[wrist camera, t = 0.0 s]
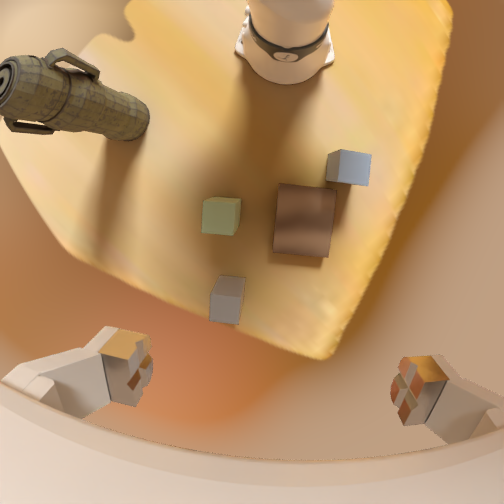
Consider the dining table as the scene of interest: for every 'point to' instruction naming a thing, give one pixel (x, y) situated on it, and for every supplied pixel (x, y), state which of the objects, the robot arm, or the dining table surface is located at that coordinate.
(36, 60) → the thermos
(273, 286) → the dining table surface
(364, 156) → the blue block
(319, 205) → the walnut brick
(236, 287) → the grey block
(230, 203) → the green block
